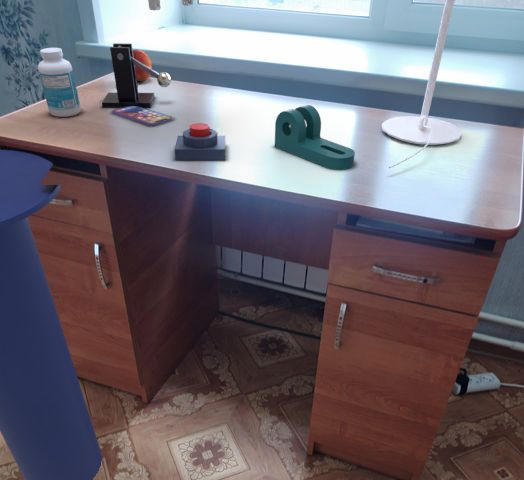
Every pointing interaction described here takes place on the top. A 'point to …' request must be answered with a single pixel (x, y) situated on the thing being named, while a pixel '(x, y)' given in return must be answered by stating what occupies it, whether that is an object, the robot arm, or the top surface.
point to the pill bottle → (58, 83)
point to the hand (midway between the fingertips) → (171, 7)
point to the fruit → (145, 60)
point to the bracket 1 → (125, 81)
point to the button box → (200, 147)
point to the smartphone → (142, 115)
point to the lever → (153, 73)
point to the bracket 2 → (309, 139)
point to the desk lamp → (426, 106)
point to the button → (199, 130)
